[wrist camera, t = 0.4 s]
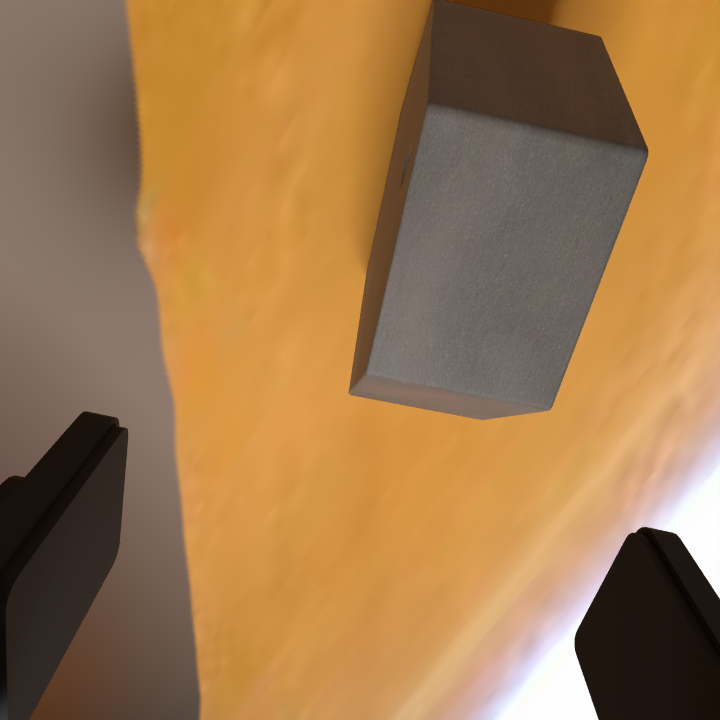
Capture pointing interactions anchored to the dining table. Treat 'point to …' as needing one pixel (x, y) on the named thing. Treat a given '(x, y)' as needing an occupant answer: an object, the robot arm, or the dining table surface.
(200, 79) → the dining table surface
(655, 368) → the dining table surface
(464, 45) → the planter
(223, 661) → the dining table surface
